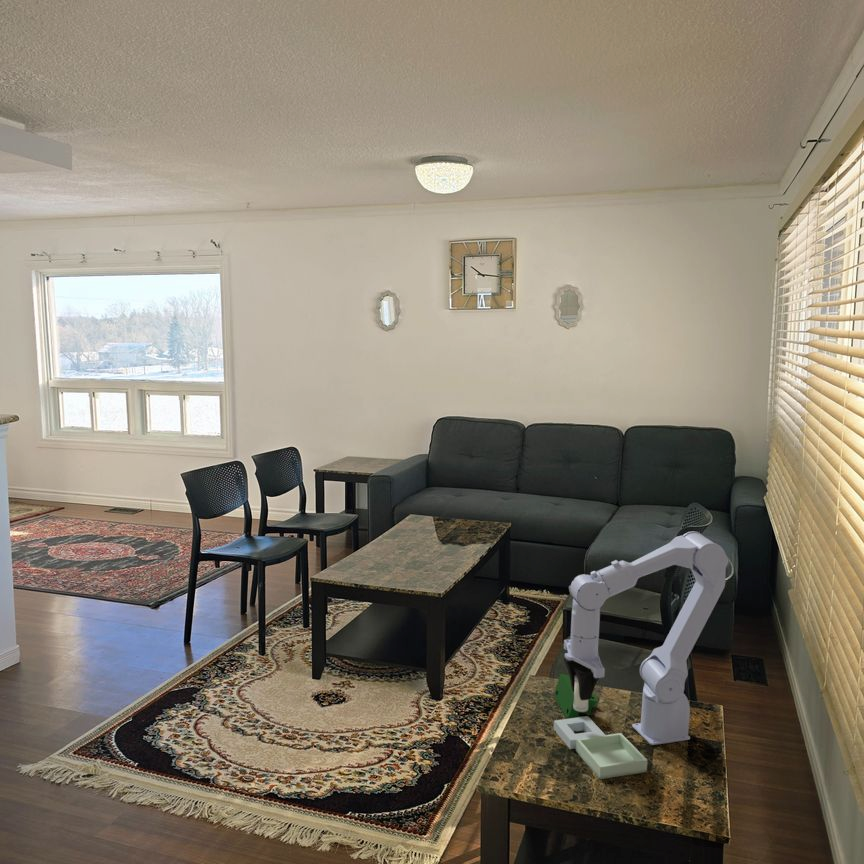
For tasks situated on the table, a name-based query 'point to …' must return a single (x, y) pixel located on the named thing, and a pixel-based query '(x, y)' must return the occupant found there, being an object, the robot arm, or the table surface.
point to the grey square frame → (568, 727)
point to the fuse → (578, 703)
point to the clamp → (570, 698)
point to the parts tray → (611, 756)
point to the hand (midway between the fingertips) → (581, 695)
